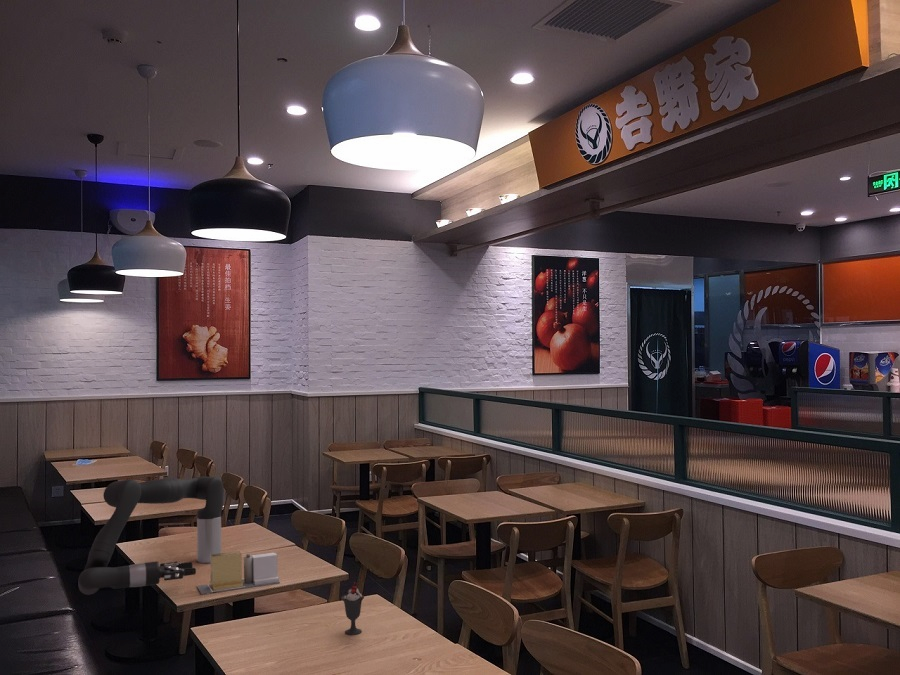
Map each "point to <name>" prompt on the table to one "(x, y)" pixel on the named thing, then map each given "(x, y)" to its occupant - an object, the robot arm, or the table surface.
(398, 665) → the table surface
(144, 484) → the robot arm
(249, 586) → the hinge board
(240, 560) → the brass leaf
